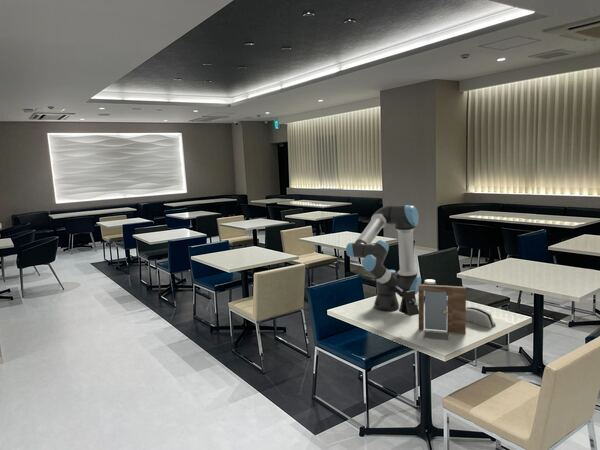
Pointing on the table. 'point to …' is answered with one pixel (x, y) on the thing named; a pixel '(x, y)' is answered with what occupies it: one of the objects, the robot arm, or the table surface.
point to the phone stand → (409, 305)
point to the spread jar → (429, 283)
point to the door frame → (454, 307)
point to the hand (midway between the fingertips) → (415, 305)
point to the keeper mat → (436, 335)
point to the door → (436, 310)
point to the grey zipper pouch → (479, 316)
